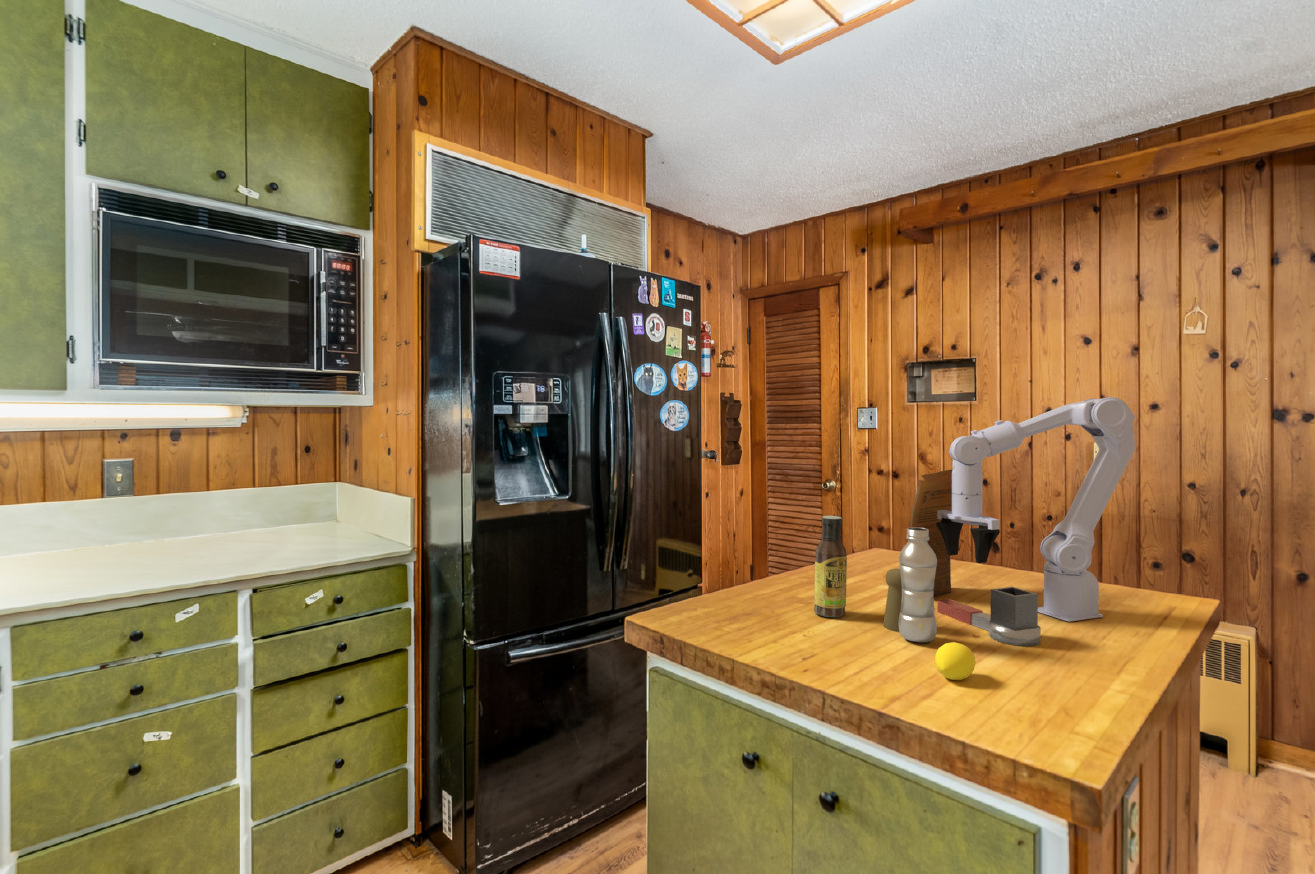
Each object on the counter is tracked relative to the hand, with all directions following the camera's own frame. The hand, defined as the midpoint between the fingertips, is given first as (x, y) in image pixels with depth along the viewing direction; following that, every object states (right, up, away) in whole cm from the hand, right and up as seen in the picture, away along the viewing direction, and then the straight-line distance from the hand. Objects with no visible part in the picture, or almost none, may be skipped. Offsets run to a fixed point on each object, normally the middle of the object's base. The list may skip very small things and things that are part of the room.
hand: (966, 558), depth 129 cm
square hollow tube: (-1, -8, -18) cm, 20 cm away
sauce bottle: (-29, -11, -3) cm, 31 cm away
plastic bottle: (-18, -11, -18) cm, 28 cm away
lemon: (-19, -12, -34) cm, 41 cm away
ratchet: (-2, -11, -12) cm, 16 cm away
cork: (-18, -11, -11) cm, 24 cm away
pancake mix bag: (-2, -10, +11) cm, 15 cm away
